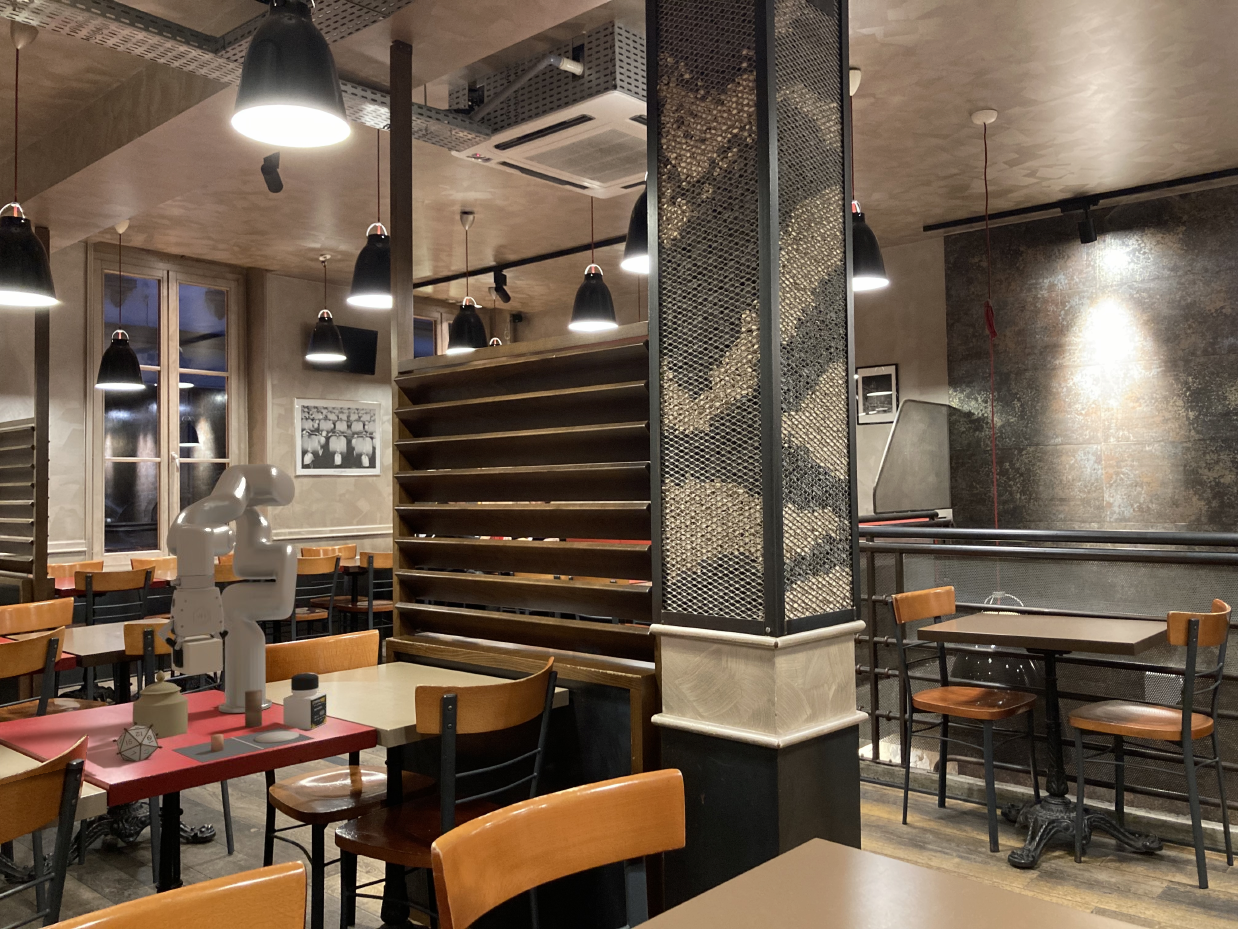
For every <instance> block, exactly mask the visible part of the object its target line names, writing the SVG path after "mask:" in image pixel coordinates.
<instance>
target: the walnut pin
mask: <svg viewBox="0 0 1238 929" xmlns="http://www.w3.org/2000/svg"><path fill="white" fill-rule="evenodd" d="M244 725H245V728H248V729H249V728H250V729H251V728H252V729H253V728H260V727H262V726H263V710H262V690H249V691H245V712H244Z"/></svg>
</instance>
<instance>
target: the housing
mask: <svg viewBox="0 0 1238 929" xmlns="http://www.w3.org/2000/svg"><path fill="white" fill-rule="evenodd" d="M170 649H171V670H172V671H175V672H178V673H181V674H183V675H187V676H196V675H203V674H210V673H217V672H222V671H224V670H223V669H224V667H223V666H224V665H223V664H224V661H223V660H224V659H223V658H224V656H223V655H224V654H223V642H222V640H220V639H216V638H212V637H210V636H209V635H200V636H193V637H185V639H184V641H183V644H182V646H181V649H183V668H178V667H175V664H173V649H172V648H171V647H170Z"/></svg>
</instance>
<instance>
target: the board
mask: <svg viewBox="0 0 1238 929" xmlns="http://www.w3.org/2000/svg"><path fill="white" fill-rule="evenodd" d="M314 739H316V738H315V737H311V736H309V735H305V734H301V733H299V732H297V731H293V730H290V729H286V728H283V727H280V728H279V727H278V728H274V729H273V728H272V729H269V730H267V729H266V730H263V731H258V732H253V733H248V734H244V735H238V736H234V737H233V736H231V737H229V738H224V734H222V733H217V734H216V733H215V734H212V735H211V736H210V741H209V742H204V743H198V744H193V745H188V746H183V747H179V748H173V749H172V751H173V752H175V753H178V754H180V755H182V756H184V757H187V758H190V759H192V760H195V761H197V762H200V763H209V762H213V761H217V760H221V759H226V758H227V759H228V758H230V757H231V758H232V757H235V756H240V755H244V754H250V753H255V752H260V751H265V750H269V749H274V748H277V747H282V746H287V745H292V744H296V743H300V742H305V741H311V740H314Z"/></svg>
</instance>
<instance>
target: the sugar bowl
mask: <svg viewBox="0 0 1238 929" xmlns="http://www.w3.org/2000/svg"><path fill="white" fill-rule="evenodd" d="M165 679H166V675H165V673H164V672H163V671H162V670H158V672H157V673H156V676H155V680H156V682H154V683H151V684H149V685H147V686H146V687H144V688H143V689H141V690H140V691H139V694H140V697H139V698H138V699H136V700H134V701H133V703H132V727H133V726H135V725H134V723H135V721H136V722H137V725H140V726H148V727H150V725H151V724H153V727H151V728H152V730H153V732H154V734H156V733H158V736H156V739H157V740H159V739H166V738H172V737H176V736H181V735H185V734H188V720H189V708H188V706H189V705H188V703H189V700H188V697H187V696H185V695H183V694H181V692H180V690H181V689H182V687H180V686H177V684H175V683H172V682H167V681H165Z"/></svg>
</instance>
